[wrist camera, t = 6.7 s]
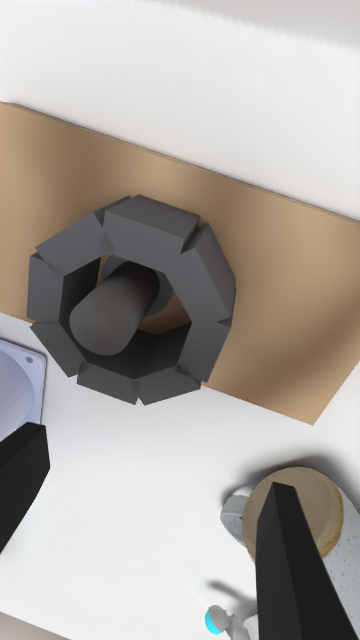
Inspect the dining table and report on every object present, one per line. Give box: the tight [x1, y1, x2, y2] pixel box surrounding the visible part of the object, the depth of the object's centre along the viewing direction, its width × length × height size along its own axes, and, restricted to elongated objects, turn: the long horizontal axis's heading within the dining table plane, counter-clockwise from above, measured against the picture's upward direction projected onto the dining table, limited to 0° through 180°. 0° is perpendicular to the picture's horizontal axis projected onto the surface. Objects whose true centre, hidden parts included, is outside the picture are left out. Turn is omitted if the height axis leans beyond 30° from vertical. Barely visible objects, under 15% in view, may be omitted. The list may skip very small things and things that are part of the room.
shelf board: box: [0, 102, 360, 425], centre depth 16 cm, size 20×11×6 cm, turn 73°
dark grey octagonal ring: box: [26, 194, 237, 406], centre depth 16 cm, size 8×8×4 cm
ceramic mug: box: [220, 467, 360, 640], centre depth 22 cm, size 10×8×7 cm
